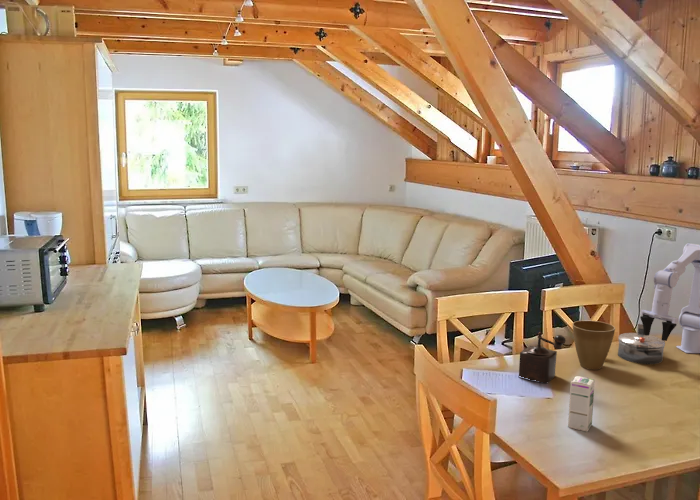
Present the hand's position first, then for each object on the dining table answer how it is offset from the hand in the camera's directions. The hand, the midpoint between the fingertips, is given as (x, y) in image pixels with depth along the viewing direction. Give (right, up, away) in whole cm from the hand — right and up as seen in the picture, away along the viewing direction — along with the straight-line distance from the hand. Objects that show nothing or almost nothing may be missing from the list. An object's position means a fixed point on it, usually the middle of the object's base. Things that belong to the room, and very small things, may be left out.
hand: (655, 337), depth 241 cm
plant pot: (-25, -11, 0) cm, 27 cm away
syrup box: (-47, -20, -50) cm, 71 cm away
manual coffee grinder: (-46, -13, -13) cm, 50 cm away
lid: (0, -2, +11) cm, 12 cm away
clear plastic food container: (-1, -9, +11) cm, 14 cm away
